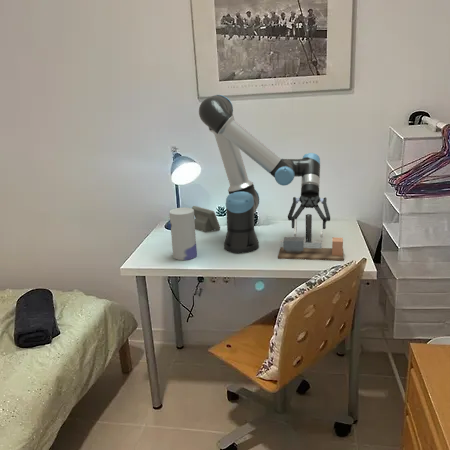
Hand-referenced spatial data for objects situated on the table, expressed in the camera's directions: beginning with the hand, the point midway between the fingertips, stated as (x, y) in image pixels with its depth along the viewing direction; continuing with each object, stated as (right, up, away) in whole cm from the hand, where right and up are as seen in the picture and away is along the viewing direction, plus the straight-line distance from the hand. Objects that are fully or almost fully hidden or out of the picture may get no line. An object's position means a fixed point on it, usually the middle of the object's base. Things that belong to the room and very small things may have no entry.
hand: (308, 235), depth 201 cm
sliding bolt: (-2, -5, +5) cm, 7 cm away
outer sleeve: (-5, -7, +7) cm, 11 cm away
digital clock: (-42, +2, +44) cm, 61 cm away
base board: (+1, -8, +6) cm, 10 cm away
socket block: (+12, -7, +3) cm, 15 cm away
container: (-50, -9, +11) cm, 52 cm away
